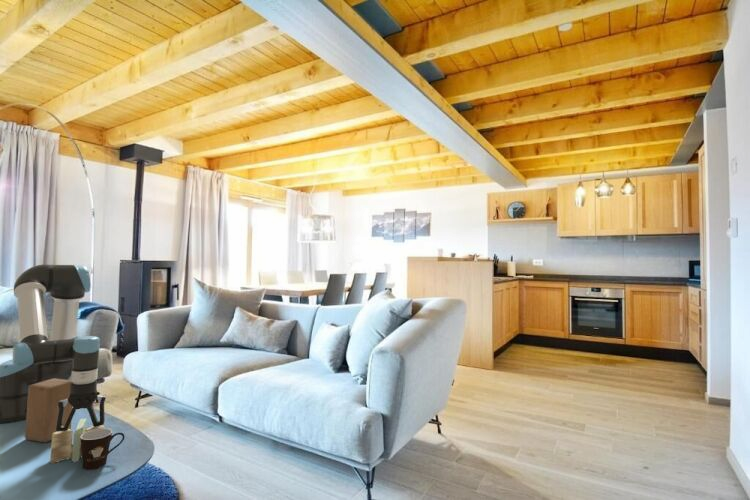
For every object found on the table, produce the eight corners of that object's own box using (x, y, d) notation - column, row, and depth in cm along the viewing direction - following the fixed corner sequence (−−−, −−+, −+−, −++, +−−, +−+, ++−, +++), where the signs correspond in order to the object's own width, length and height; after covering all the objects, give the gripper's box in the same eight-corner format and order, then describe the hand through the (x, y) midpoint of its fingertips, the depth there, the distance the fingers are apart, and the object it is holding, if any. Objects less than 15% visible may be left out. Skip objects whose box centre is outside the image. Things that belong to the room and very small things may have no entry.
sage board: (78, 444, 142) (80, 419, 143) (84, 443, 143) (86, 418, 143) (71, 462, 130) (73, 434, 130) (78, 461, 131) (80, 433, 131)
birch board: (49, 463, 129) (51, 435, 129) (52, 458, 132) (54, 430, 132) (101, 455, 135) (103, 428, 136) (102, 449, 139) (104, 424, 139)
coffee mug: (73, 473, 124) (75, 440, 124) (84, 459, 132) (86, 429, 132) (115, 469, 127) (117, 437, 127) (124, 456, 135) (126, 426, 136)
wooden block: (45, 443, 141) (49, 387, 142) (23, 440, 143) (27, 384, 144) (71, 432, 151) (75, 380, 152) (50, 429, 153) (54, 377, 154)
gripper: (47, 387, 131) (41, 458, 130) (115, 381, 140) (111, 446, 140) (51, 381, 137) (46, 448, 137) (117, 375, 147) (113, 438, 146)
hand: (79, 447), depth 138 cm, fingers open, 6 cm apart
